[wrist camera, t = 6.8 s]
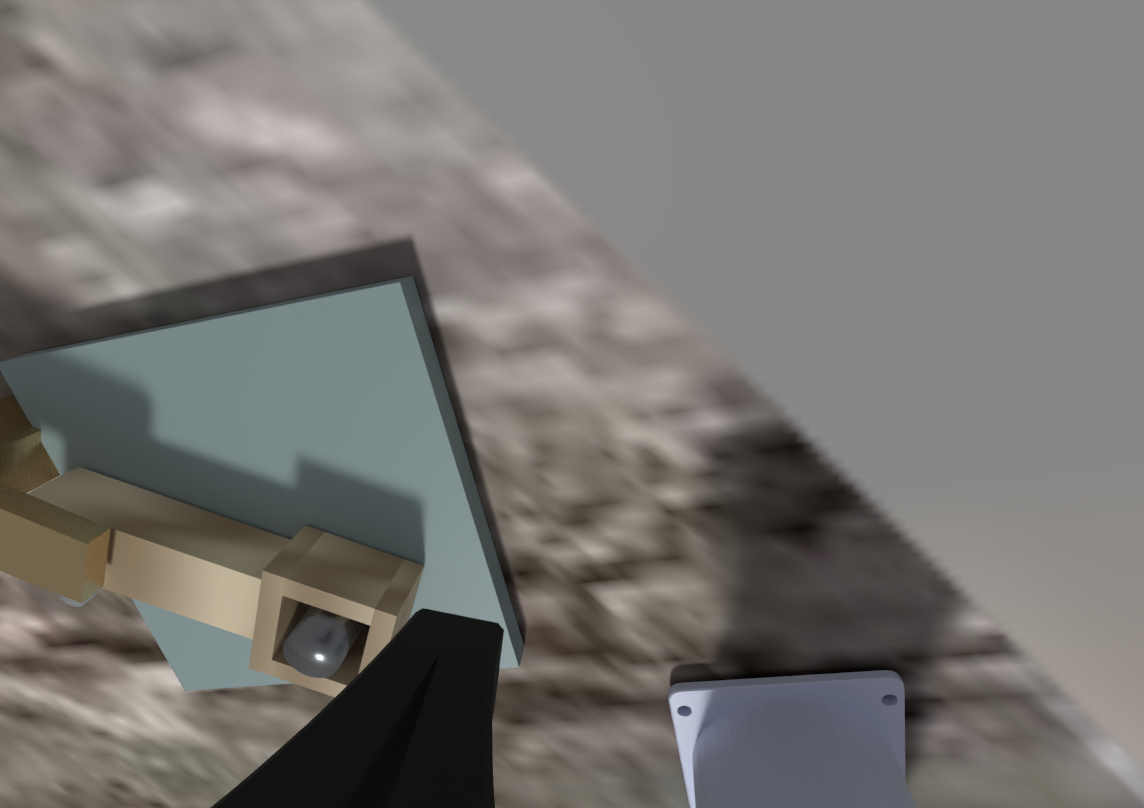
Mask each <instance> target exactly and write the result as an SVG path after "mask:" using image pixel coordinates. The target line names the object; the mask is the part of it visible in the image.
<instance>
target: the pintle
mask: <svg viewBox="0 0 1144 808" xmlns="http://www.w3.org/2000/svg"><path fill="white" fill-rule="evenodd" d="M364 625H365V624H364V623H361V622H358V621H355V620H352V619H349V618H346V617H343V616H341V615H338V614H335V613H332V612H329V611H326V610H323V609H320V608H317V607H314V606H311V607H310V608H309V610H308V611H307V612H306V614H305V615H304V616H303V618H302V619H301V620H300V622H299V623H298V624H297V626H296V627H295V628H294V630H293V631H292V632H291V634H290V635H289V636H288V638H287V639H286V640H285V642H284V645H283V653H284V656H285V658H286V660H287V662H288V663H289V664H290V665H291V666H292V667H293V668H294V669H295V670H297V671H298V672H300V673H302V674H304V675H306V676H309V677H314V678H325V677H329V676H331V675H333V674H334V673H335V672H336V671H337V670H338V668H339V667H340V665H341V663H342V662H343V660H344V658H345V657H346V655H347V653H348V652H349V650H350V648H351V647H352V645H353V643H354V642H355V640H356V638H357V637H358V635H359V633H360V632H361V630H362V629H363V627H364Z"/></svg>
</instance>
